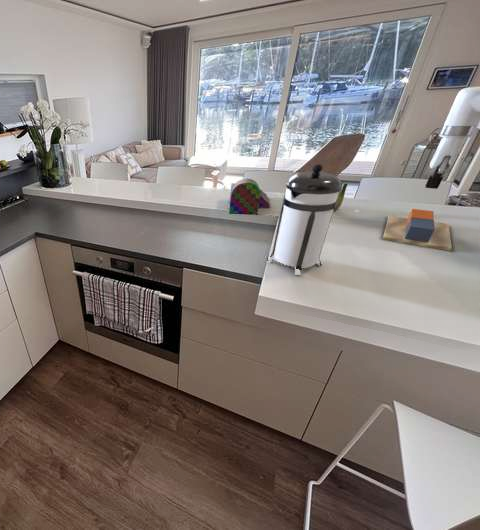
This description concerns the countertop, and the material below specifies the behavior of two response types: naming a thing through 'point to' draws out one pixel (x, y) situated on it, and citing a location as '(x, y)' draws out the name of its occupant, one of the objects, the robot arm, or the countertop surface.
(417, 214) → the orange rectangular block
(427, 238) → the blue gray block
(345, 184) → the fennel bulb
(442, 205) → the countertop surface
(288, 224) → the coffee press
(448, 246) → the tan wooden board
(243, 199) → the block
